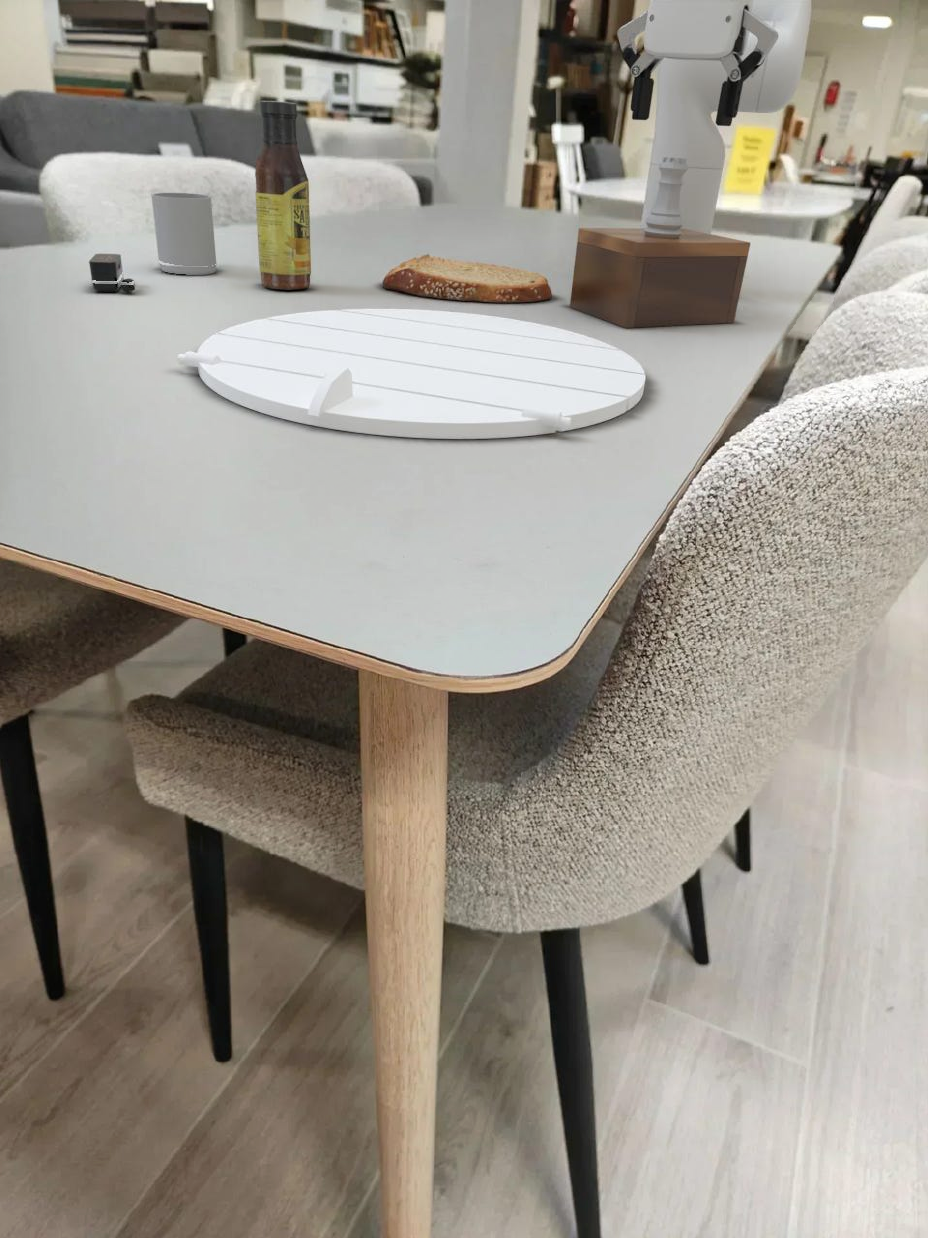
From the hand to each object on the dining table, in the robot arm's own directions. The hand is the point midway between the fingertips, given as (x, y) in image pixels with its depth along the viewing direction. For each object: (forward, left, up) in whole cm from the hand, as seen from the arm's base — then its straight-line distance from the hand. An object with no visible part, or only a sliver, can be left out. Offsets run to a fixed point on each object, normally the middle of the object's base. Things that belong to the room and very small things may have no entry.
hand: (680, 122), depth 94 cm
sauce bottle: (-24, -38, -21) cm, 50 cm away
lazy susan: (+16, -37, -21) cm, 46 cm away
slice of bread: (-18, -16, -21) cm, 32 cm away
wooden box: (-1, +1, -20) cm, 21 cm away
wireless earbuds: (-25, -58, -21) cm, 67 cm away
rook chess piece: (0, 0, -12) cm, 12 cm away
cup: (-38, -47, -21) cm, 64 cm away
